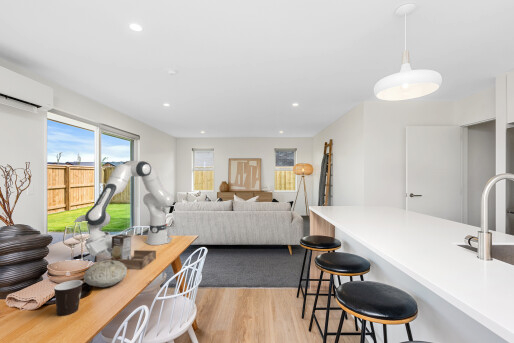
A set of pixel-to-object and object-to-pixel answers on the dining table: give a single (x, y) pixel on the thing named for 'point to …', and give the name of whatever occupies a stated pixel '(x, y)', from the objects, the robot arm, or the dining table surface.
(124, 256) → the coffee box
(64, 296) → the coffee mug
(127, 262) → the brown wooden tray
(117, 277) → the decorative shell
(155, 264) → the dining table surface
